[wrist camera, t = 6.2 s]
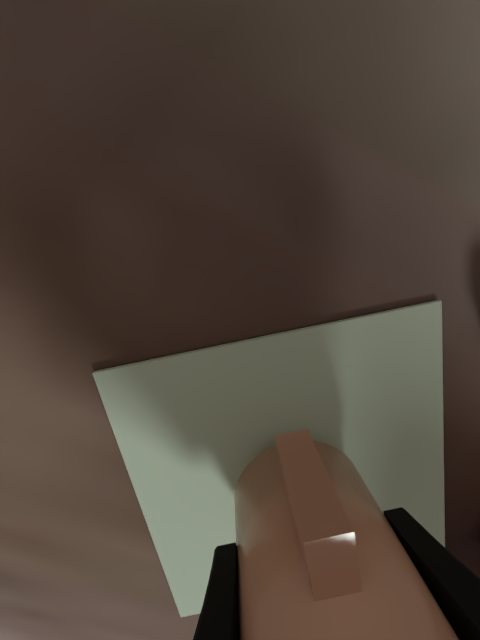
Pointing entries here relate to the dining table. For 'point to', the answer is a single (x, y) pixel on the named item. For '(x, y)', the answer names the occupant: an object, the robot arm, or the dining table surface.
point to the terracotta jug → (323, 553)
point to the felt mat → (279, 425)
